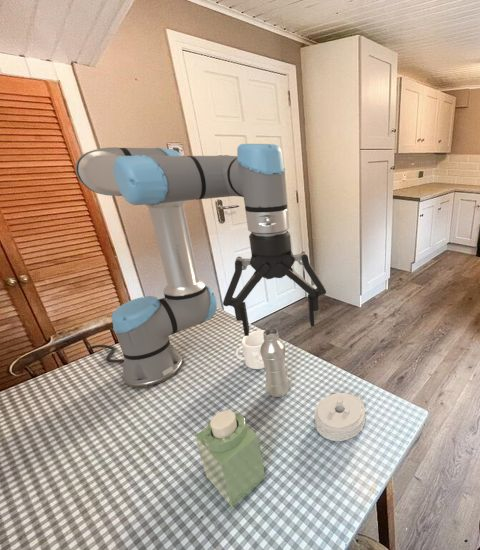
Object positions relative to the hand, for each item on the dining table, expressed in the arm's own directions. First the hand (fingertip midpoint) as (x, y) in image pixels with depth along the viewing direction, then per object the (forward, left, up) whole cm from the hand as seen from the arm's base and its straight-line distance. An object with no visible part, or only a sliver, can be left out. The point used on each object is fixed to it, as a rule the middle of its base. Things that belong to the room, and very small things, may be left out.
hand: (280, 328), depth 65 cm
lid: (+9, +8, -28) cm, 31 cm away
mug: (-28, +9, -28) cm, 41 cm away
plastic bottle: (-12, +5, -28) cm, 31 cm away
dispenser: (+1, -16, -28) cm, 32 cm away
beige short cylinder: (+1, -16, -15) cm, 22 cm away
